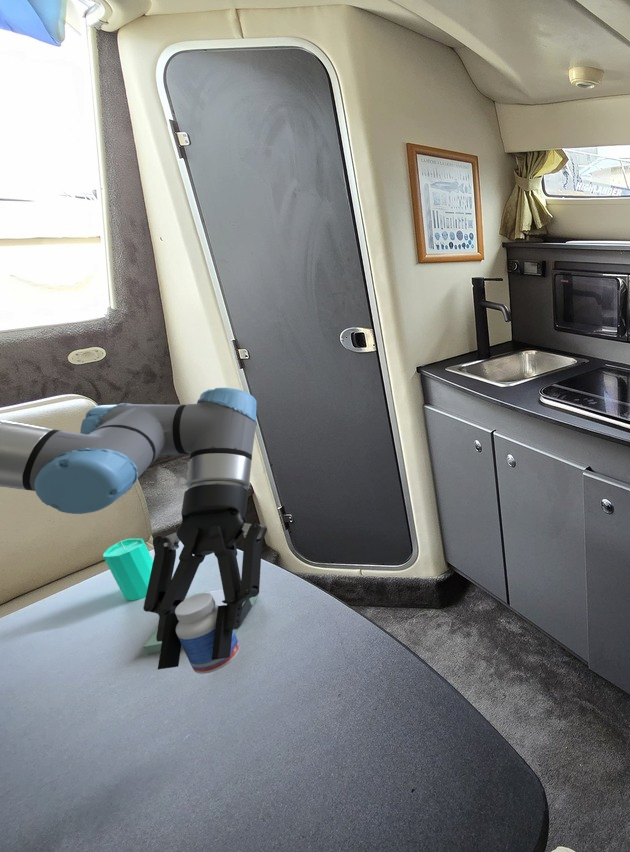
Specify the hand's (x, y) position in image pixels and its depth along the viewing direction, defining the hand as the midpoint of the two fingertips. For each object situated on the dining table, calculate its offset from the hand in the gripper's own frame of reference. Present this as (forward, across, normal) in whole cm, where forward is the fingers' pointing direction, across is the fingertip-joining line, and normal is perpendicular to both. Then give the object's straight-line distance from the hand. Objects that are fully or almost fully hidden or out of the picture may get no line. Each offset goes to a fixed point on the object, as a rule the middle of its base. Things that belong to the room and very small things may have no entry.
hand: (194, 662), depth 64 cm
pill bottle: (0, 0, -5) cm, 5 cm away
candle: (-16, +33, -38) cm, 53 cm away
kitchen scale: (-7, +15, -28) cm, 32 cm away
